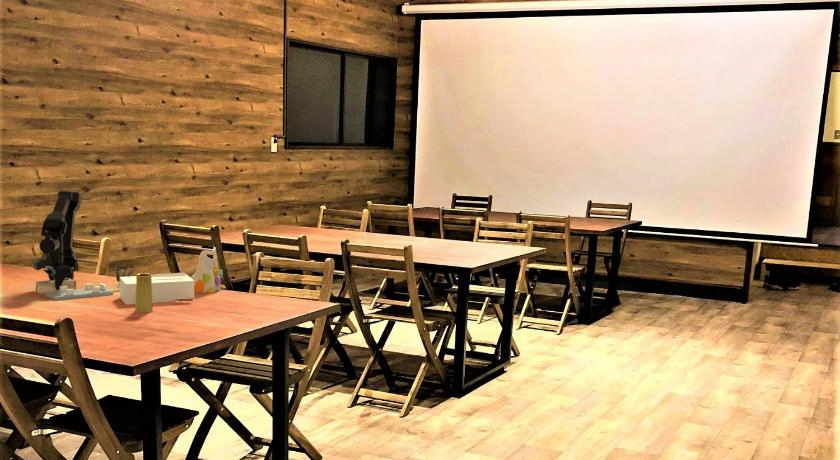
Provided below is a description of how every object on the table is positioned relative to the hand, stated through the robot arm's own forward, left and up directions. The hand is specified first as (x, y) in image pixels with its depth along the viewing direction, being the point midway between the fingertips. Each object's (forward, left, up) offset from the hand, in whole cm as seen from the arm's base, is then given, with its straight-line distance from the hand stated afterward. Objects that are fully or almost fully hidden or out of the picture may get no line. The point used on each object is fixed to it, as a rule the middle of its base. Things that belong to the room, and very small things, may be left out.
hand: (55, 288), depth 342 cm
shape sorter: (+29, +50, -1) cm, 58 cm away
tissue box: (+34, +26, -2) cm, 43 cm away
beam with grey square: (0, 0, -1) cm, 1 cm away
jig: (+12, +5, -1) cm, 13 cm away
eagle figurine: (+9, +24, -1) cm, 26 cm away
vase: (+53, +12, -1) cm, 54 cm away
